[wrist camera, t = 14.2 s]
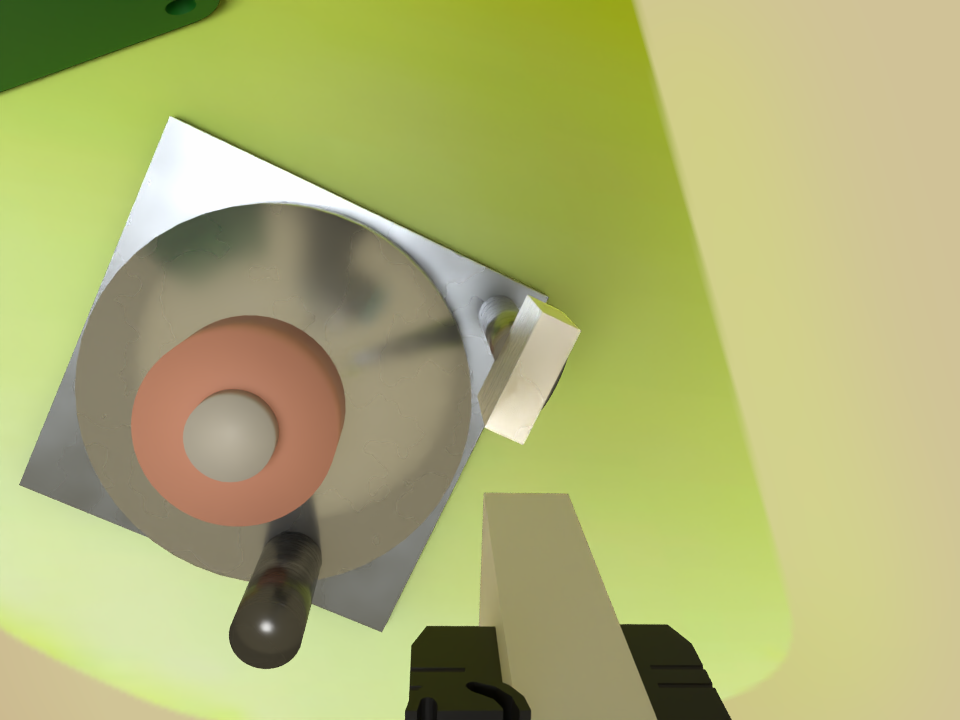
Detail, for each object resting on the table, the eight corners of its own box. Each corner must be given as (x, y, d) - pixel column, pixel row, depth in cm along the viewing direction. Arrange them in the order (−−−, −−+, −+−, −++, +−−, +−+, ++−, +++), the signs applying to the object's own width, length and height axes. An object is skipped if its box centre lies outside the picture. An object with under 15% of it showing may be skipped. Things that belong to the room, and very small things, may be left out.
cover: (149, 320, 33) (108, 342, 29) (338, 310, 34) (325, 331, 29) (171, 497, 35) (135, 544, 30) (352, 486, 35) (342, 531, 31)
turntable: (65, 212, 34) (-36, 223, 27) (459, 193, 35) (469, 198, 27) (117, 582, 37) (40, 685, 30) (478, 557, 38) (491, 651, 30)
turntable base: (178, 109, 34) (48, 77, 22) (549, 288, 37) (610, 344, 25) (27, 478, 37) (-162, 624, 25) (382, 623, 39) (365, 820, 27)
